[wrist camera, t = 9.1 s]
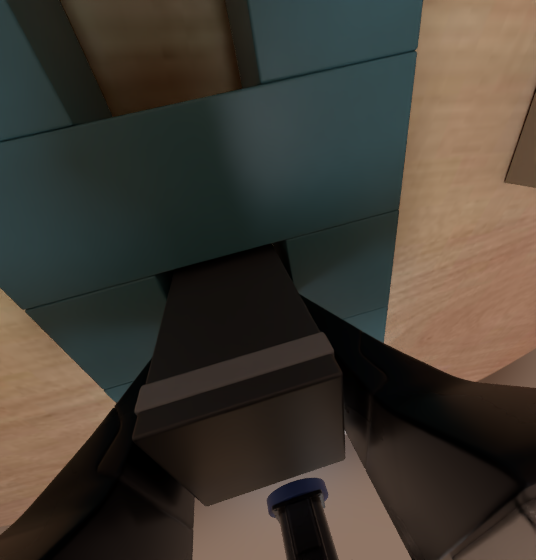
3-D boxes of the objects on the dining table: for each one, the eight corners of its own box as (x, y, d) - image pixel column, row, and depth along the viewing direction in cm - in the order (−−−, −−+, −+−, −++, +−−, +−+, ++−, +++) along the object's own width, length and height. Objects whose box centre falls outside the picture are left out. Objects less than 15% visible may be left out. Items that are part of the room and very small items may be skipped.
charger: (283, 306, 12) (348, 460, 7) (206, 329, 12) (203, 509, 6) (268, 234, 10) (347, 371, 4) (174, 260, 10) (123, 440, 4)
